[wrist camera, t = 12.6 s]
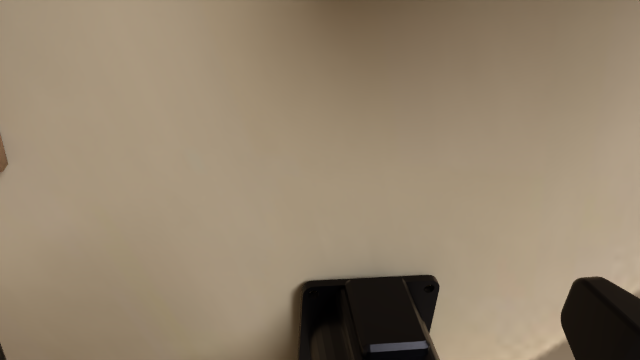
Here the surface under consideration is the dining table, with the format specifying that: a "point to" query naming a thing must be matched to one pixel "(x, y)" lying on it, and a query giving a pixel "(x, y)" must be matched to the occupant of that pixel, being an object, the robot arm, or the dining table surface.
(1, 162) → the cap board
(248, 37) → the dining table surface
